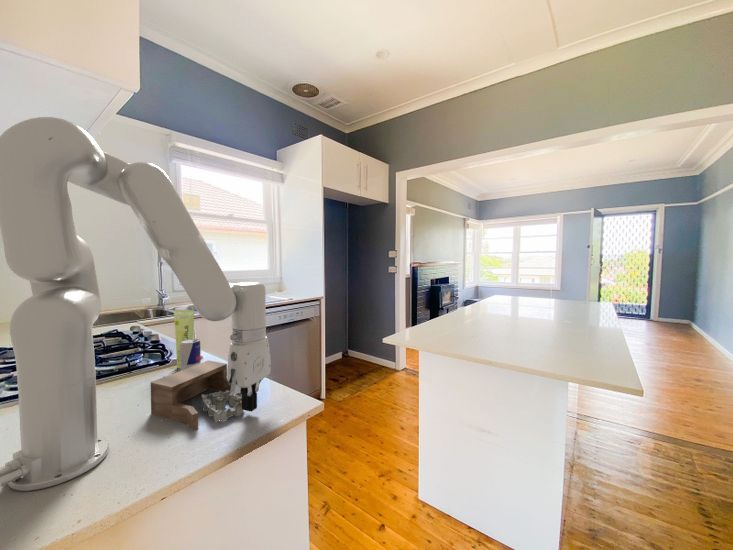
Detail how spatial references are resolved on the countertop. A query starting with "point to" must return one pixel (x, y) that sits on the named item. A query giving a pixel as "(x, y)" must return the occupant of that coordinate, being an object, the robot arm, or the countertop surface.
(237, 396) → the grey holed block
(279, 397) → the countertop surface
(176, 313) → the tube
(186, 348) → the energy drink
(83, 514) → the countertop surface
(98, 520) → the countertop surface
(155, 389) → the walnut garage
